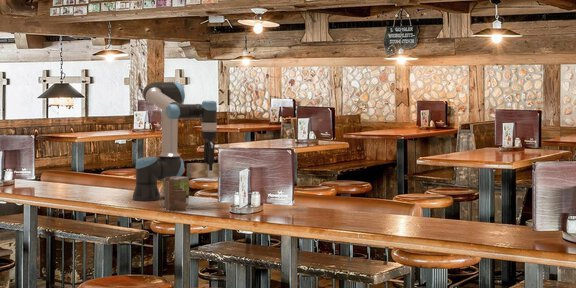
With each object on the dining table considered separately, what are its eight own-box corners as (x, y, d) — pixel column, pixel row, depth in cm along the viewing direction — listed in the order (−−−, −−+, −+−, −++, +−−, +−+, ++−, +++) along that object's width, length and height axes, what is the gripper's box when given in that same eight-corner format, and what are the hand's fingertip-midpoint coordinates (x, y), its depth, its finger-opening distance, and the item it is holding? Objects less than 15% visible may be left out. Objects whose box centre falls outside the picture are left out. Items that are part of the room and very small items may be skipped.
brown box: (164, 207, 455) (164, 176, 454) (180, 207, 458) (181, 176, 457) (169, 211, 442) (169, 179, 441) (186, 210, 445) (186, 179, 444)
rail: (188, 178, 449) (188, 164, 448) (186, 177, 454) (186, 163, 453) (219, 177, 454) (219, 163, 454) (217, 176, 459) (217, 162, 458)
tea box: (180, 207, 458) (180, 178, 457) (161, 206, 460) (161, 178, 459) (189, 203, 473) (189, 176, 472) (171, 203, 475) (171, 175, 474)
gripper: (197, 130, 460) (197, 174, 462) (206, 131, 443) (205, 178, 445) (212, 130, 463) (211, 174, 464) (220, 131, 446) (220, 178, 447)
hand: (208, 176), depth 455 cm, fingers closed on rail, 5 cm apart
